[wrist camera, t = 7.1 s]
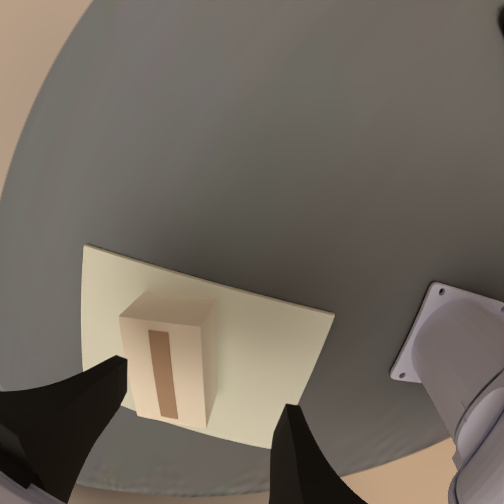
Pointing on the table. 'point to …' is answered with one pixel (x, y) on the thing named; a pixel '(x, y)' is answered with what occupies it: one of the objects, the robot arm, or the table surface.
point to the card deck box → (171, 357)
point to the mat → (227, 340)
